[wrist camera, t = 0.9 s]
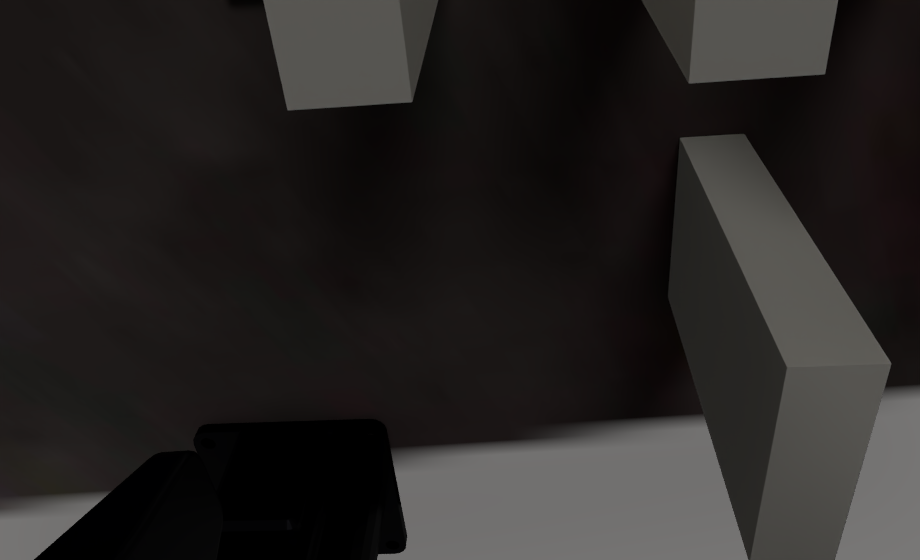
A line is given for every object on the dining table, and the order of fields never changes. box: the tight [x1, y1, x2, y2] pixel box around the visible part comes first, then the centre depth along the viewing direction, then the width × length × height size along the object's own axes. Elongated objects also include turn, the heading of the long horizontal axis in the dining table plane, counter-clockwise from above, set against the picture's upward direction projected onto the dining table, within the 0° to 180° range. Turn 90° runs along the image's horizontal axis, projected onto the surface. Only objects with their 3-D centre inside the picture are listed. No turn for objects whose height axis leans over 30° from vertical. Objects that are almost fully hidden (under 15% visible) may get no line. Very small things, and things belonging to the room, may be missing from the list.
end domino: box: [668, 134, 891, 560], centre depth 17 cm, size 2×5×9 cm, turn 5°
